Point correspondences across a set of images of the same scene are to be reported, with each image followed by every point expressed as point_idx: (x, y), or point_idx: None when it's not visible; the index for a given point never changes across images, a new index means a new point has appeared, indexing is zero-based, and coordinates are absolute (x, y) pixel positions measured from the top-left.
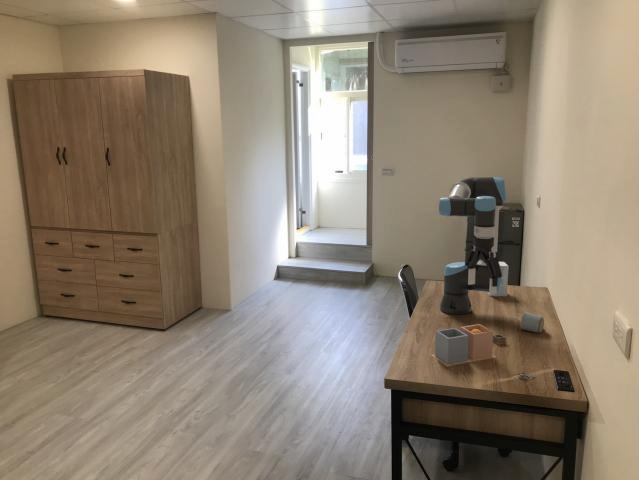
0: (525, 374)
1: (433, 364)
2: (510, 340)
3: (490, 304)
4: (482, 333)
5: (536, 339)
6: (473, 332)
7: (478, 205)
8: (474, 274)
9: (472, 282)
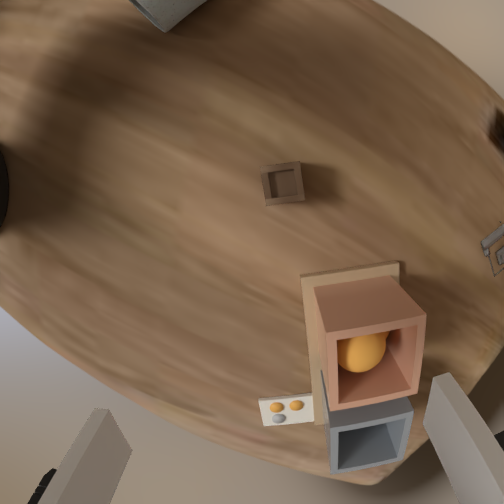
0: (496, 239)
1: None
2: (250, 114)
3: None
4: (421, 361)
5: (263, 23)
6: (369, 369)
7: None
8: (74, 486)
9: (112, 440)
